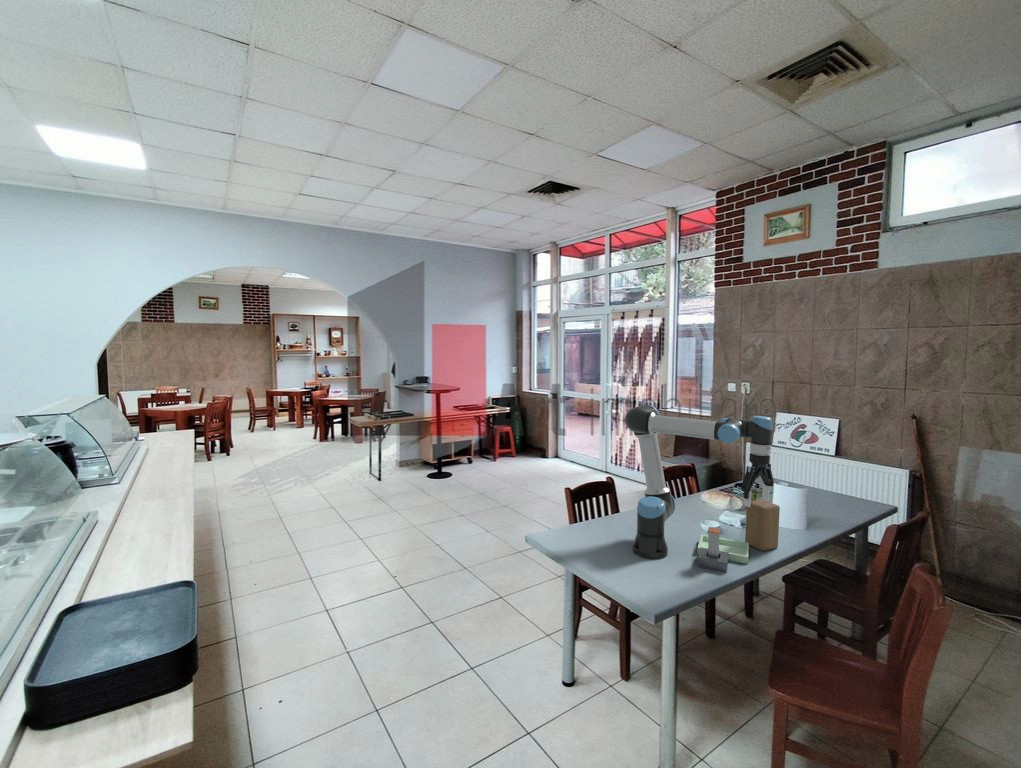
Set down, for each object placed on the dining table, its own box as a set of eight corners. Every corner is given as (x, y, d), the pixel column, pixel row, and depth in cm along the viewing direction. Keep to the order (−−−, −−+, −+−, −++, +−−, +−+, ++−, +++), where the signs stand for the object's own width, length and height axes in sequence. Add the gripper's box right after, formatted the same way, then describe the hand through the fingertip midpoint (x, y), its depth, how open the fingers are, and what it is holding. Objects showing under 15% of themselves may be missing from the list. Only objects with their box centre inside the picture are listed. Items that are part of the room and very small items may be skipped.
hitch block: (697, 566, 195) (697, 557, 194) (700, 556, 204) (700, 547, 204) (726, 572, 189) (727, 563, 189) (728, 561, 199) (728, 552, 199)
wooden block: (744, 543, 218) (745, 501, 216) (760, 539, 221) (761, 498, 220) (762, 551, 208) (764, 508, 207) (778, 548, 212) (780, 505, 210)
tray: (697, 554, 206) (697, 547, 206) (701, 540, 220) (701, 534, 220) (748, 564, 197) (748, 557, 197) (748, 549, 211) (748, 542, 211)
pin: (706, 565, 196) (707, 530, 195) (707, 560, 200) (708, 526, 199) (718, 567, 194) (719, 532, 192) (719, 563, 198) (720, 528, 197)
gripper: (751, 459, 184) (747, 511, 186) (785, 452, 197) (781, 501, 199) (733, 455, 190) (730, 505, 192) (767, 448, 203) (764, 495, 205)
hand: (756, 503), depth 196 cm, fingers open, 13 cm apart
